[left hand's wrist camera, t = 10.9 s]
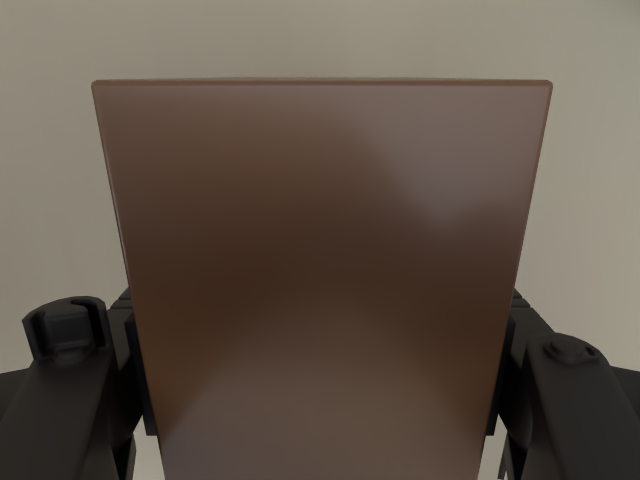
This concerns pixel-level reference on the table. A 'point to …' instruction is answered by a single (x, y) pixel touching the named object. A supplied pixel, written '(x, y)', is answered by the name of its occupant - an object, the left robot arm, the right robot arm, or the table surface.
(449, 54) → the table surface
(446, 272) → the post
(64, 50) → the table surface
